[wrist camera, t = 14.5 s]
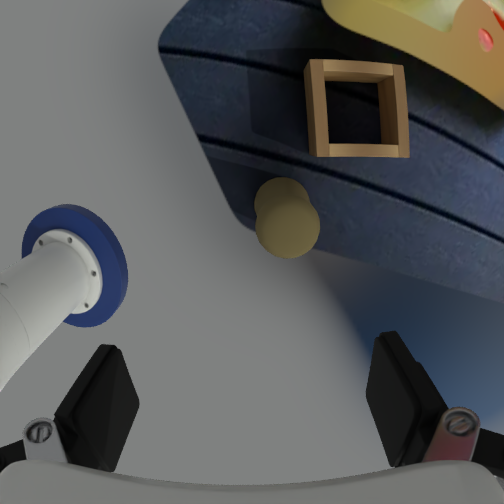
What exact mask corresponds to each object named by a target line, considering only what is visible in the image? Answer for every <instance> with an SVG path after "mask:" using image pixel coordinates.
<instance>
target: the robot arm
mask: <svg viewBox="0 0 504 504" xmlns="http://www.w3.org/2000/svg"><path fill="white" fill-rule="evenodd" d="M102 286H103V281H102V272H101V268H100V265H99V262H98V260H97V258H96V256H95V254H94V252H93V251H92V249H91V248H90V246H89V245H88V244H87V243H86V242H85V241H84V240H83V239H82V238H81V237H79V236H78V235H77V234H75V233H73V232H71V231H69V230H65V229H53V230H50V231H48V232H46V233H44V234H43V235H41V236H40V237H39V238H38V239H37V241H36V242H35V244H34V246H33V249H32V253H31V254H29V255H28V256H26V257H24V258H23V259H21V260H20V261H18V262H16V263H15V264H13V265H11V266H10V267H8V268H7V269H5V270H3V271H2V272H0V392H1V390H2V389H3V387H4V386H5V385H6V383H7V382H8V381H9V379H10V378H11V377H12V375H13V374H14V373H15V372H16V371H17V370H18V368H19V367H20V366H21V365H22V364H23V363H24V362H25V361H26V359H27V358H28V357H29V356H30V355H31V354H32V353H33V352H34V351H35V350H36V349H37V348H38V346H39V345H40V344H41V343H42V342H43V341H44V340H45V339H46V338H47V337H48V336H49V335H50V334H51V333H52V332H53V331H54V330H55V329H56V328H57V327H58V325H59V324H60V323H61V322H62V321H63V320H64V319H65V318H66V317H67V316H68V315H69V314H70V313H73V314H79V313H83V312H86V311H88V310H89V309H91V308H92V307H93V306H94V305H95V304H96V302H97V301H98V299H99V297H100V295H101V292H102ZM366 399H367V402H368V405H369V407H370V410H371V413H372V416H373V418H374V421H375V424H376V426H377V429H378V432H379V435H380V438H381V441H382V444H383V447H384V450H385V453H386V456H387V458H388V462H389V464H390V466H391V467H394V466H395V468H392V469H387V470H383V471H378V472H373V473H367V474H361V475H356V476H349V477H343V478H336V479H329V480H322V481H313V482H303V483H290V484H274V485H208V484H192V483H180V482H170V481H160V480H153V479H146V478H139V477H133V476H127V475H122V474H116V473H111V472H114V470H115V468H116V466H117V463H118V460H119V458H120V455H121V452H122V450H123V447H124V445H125V442H126V439H127V437H128V434H129V431H130V429H131V426H132V424H133V421H134V419H135V416H136V414H137V411H138V408H139V398H138V396H137V393H136V391H135V388H134V385H133V383H132V380H131V377H130V375H129V372H128V369H127V367H126V363H125V361H124V358H123V355H122V352H121V350H120V349H117V347H116V346H115V345H106V344H101V345H100V346H99V347H98V349H97V350H96V352H95V353H94V354H93V356H92V357H91V359H90V360H89V362H88V363H87V365H86V366H85V368H84V369H83V371H82V372H81V374H80V375H79V376H78V378H77V380H76V381H75V383H74V384H73V386H72V387H71V389H70V390H69V392H68V393H67V395H66V396H65V398H64V400H63V401H62V403H61V404H60V406H59V407H58V409H57V411H56V412H55V414H54V415H55V418H54V420H53V421H52V420H51V419H48V418H37V419H34V420H32V421H31V422H29V423H28V424H27V425H26V427H25V428H24V430H23V439H22V440H20V441H17V442H15V443H12V444H9V445H7V446H4V447H1V448H0V504H504V435H502V434H498V433H495V432H492V431H489V430H485V429H482V428H480V420H479V418H478V416H477V415H476V413H474V412H473V411H472V410H470V409H467V408H465V407H453V408H451V409H449V408H448V407H447V405H446V404H445V402H444V400H443V398H442V397H441V395H440V394H439V392H438V390H437V389H436V387H435V385H434V384H433V382H432V381H431V379H430V377H429V376H428V374H427V372H426V371H425V370H424V368H423V366H422V365H421V364H420V363H419V362H416V361H415V359H414V358H413V356H412V355H411V353H410V351H409V350H408V348H407V347H406V345H405V344H404V342H403V341H402V339H401V337H400V336H399V334H398V333H397V332H396V331H390V332H382V333H380V335H379V337H376V338H375V341H374V348H373V354H372V361H371V366H370V372H369V377H368V383H367V388H366Z"/></svg>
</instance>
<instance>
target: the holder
mask: <svg viewBox="0 0 504 504" xmlns="http://www.w3.org/2000/svg"><path fill="white" fill-rule="evenodd" d="M303 72H304V83H305V95H306V108H307V122H308V138H309V155H312V156H316V157H329V156H330V157H337V156H364V157H406V158H409V129H408V112H407V98H406V87H405V78H404V69H403V65H395V64H386V63H377V62H365V61H351V60H328V59H323V60H322V59H310V60H309V61H308V63H307V65H306V67H305V69H304V71H303ZM324 81H348V82H366V83H377V85H378V97H379V110H380V126H381V144H329V138H328V121H327V107H326V94H325V82H324Z"/></svg>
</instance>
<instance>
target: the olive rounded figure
mask: <svg viewBox="0 0 504 504" xmlns="http://www.w3.org/2000/svg"><path fill="white" fill-rule="evenodd" d="M254 206H255V212H256V215H257V219H256V223H255V226H256V235H257V237H258V240H259V242H260V243H261V245H262V246H263V247H264V248H265V249H266V250H267V251H268V252H270V253H271V254H273V255H274V256H277V257H281V258H296V257H298V256H301V255H304V254H305V253H306V252H307V251H309V250H310V249H311V248H312V247H313V245H314V244H315V243H316V241H317V238H318V235H319V232H320V220H319V217H318V214H317V211H316V210H315V209H314V207H313V206H312V205H311V204H310V202H309V197H308V194H307V192H306V190H305V189H304V188H303V186H302V185H301V184H300V183H298V182H297V181H295V180H294V179H290V178H286V177H278V178H274V179H271V180H269V181H267V182H266V183H264V184H263V185H262V186H261V187H260V189H259V190H258V192H257V193H256V197H255V201H254Z"/></svg>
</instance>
